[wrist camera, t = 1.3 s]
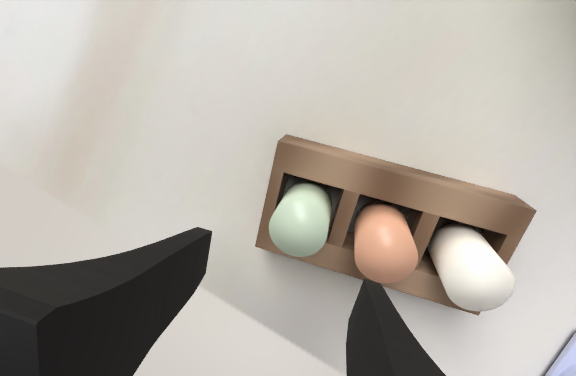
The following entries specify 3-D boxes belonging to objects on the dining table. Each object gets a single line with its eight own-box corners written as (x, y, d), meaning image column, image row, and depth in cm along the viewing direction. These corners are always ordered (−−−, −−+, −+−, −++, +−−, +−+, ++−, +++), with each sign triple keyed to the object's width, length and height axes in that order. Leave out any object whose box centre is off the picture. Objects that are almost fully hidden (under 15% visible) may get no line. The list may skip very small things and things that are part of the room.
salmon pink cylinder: (413, 209, 19) (427, 239, 15) (396, 253, 20) (405, 291, 16) (362, 195, 19) (365, 221, 15) (348, 238, 20) (347, 272, 16)
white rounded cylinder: (493, 231, 18) (527, 268, 15) (471, 275, 19) (497, 319, 16) (439, 216, 18) (460, 249, 15) (420, 260, 19) (435, 300, 16)
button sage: (338, 188, 19) (334, 213, 16) (324, 231, 20) (318, 264, 17) (289, 174, 19) (275, 195, 16) (279, 218, 20) (263, 247, 17)
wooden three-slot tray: (514, 195, 19) (536, 210, 17) (465, 290, 21) (478, 315, 19) (286, 134, 20) (278, 141, 18) (264, 230, 23) (255, 246, 20)
